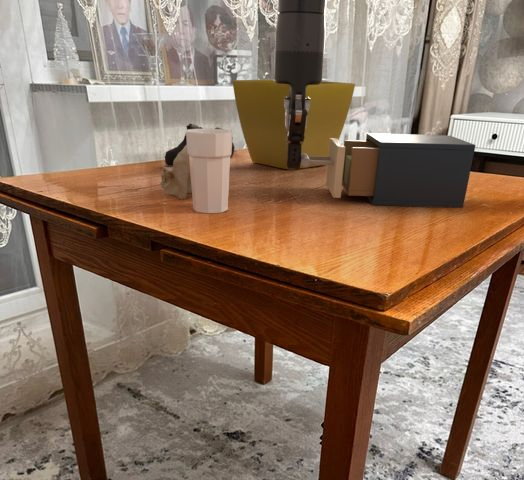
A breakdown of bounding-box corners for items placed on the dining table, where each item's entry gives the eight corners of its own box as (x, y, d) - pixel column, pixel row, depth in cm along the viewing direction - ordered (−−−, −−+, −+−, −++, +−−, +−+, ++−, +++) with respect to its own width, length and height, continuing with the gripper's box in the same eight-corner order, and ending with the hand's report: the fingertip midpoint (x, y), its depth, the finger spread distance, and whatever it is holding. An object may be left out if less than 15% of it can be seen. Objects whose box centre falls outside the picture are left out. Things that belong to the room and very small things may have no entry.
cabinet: (373, 205, 87) (380, 142, 83) (360, 189, 98) (366, 133, 94) (463, 208, 87) (475, 144, 83) (440, 191, 98) (450, 135, 94)
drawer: (300, 196, 87) (303, 145, 83) (296, 183, 97) (299, 137, 93) (416, 200, 87) (424, 149, 84) (400, 186, 97) (407, 140, 94)
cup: (234, 205, 84) (234, 129, 79) (230, 215, 79) (230, 134, 73) (192, 203, 85) (189, 127, 79) (185, 213, 79) (181, 132, 74)
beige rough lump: (167, 177, 95) (191, 127, 89) (197, 199, 95) (223, 150, 89) (143, 189, 88) (167, 136, 82) (175, 213, 88) (202, 161, 82)
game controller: (231, 186, 110) (248, 139, 109) (207, 173, 105) (225, 123, 104) (183, 174, 121) (199, 131, 119) (160, 162, 115) (176, 116, 114)
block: (369, 182, 94) (372, 156, 92) (373, 187, 90) (377, 160, 88) (343, 182, 93) (346, 155, 91) (347, 187, 90) (350, 159, 88)
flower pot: (289, 174, 110) (294, 82, 102) (230, 161, 122) (230, 78, 114) (349, 166, 121) (357, 83, 113) (289, 155, 134) (293, 79, 126)
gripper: (328, 49, 76) (319, 175, 84) (320, 51, 88) (312, 162, 96) (275, 47, 76) (271, 174, 84) (274, 49, 88) (270, 161, 96)
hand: (293, 167), depth 90 cm, fingers closed
